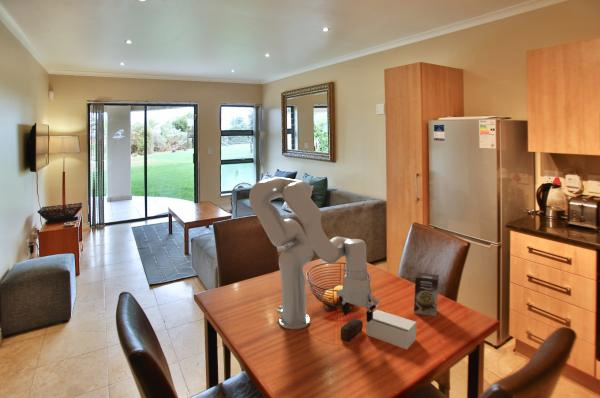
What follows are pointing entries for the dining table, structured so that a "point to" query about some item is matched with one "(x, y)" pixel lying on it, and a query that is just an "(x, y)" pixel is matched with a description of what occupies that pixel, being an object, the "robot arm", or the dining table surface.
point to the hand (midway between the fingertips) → (357, 317)
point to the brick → (351, 329)
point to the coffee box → (426, 294)
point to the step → (392, 329)
